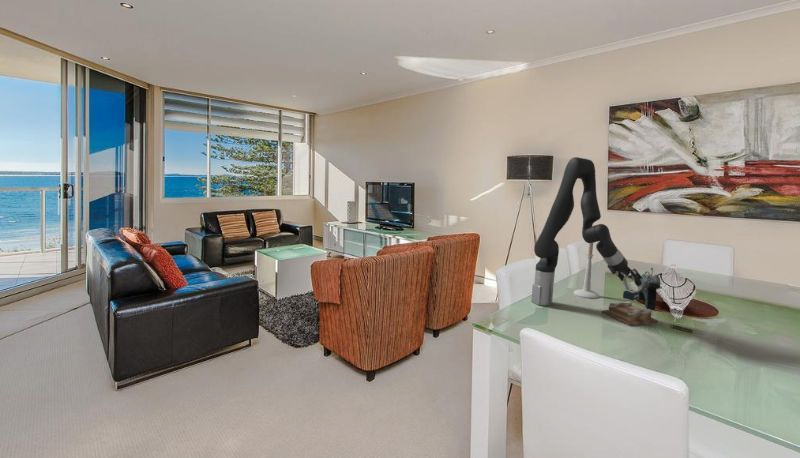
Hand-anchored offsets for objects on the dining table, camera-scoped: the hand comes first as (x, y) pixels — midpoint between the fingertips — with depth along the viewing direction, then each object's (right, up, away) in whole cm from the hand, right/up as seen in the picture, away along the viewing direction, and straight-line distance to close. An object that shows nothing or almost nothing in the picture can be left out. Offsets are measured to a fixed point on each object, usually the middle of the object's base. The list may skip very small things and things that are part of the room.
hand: (631, 282), depth 173 cm
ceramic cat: (+21, -15, +22) cm, 34 cm away
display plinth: (0, -17, +3) cm, 17 cm away
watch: (+1, -8, +1) cm, 8 cm away
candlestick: (-3, -12, +36) cm, 38 cm away
